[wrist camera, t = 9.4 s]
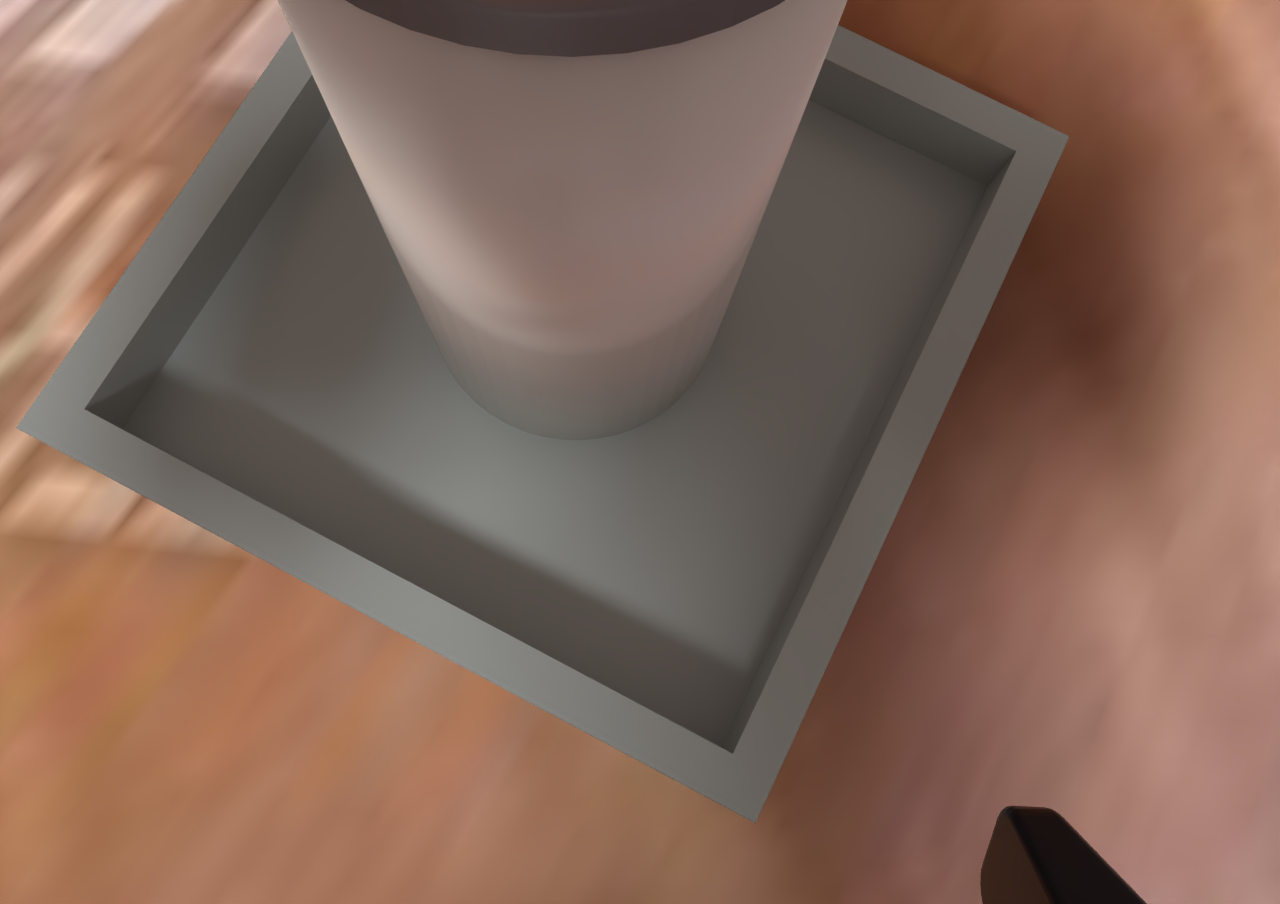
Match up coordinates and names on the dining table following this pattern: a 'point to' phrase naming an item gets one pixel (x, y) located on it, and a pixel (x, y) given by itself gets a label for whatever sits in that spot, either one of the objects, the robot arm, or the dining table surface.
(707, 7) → the shaker
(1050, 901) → the robot arm
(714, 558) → the tray
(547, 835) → the dining table surface
